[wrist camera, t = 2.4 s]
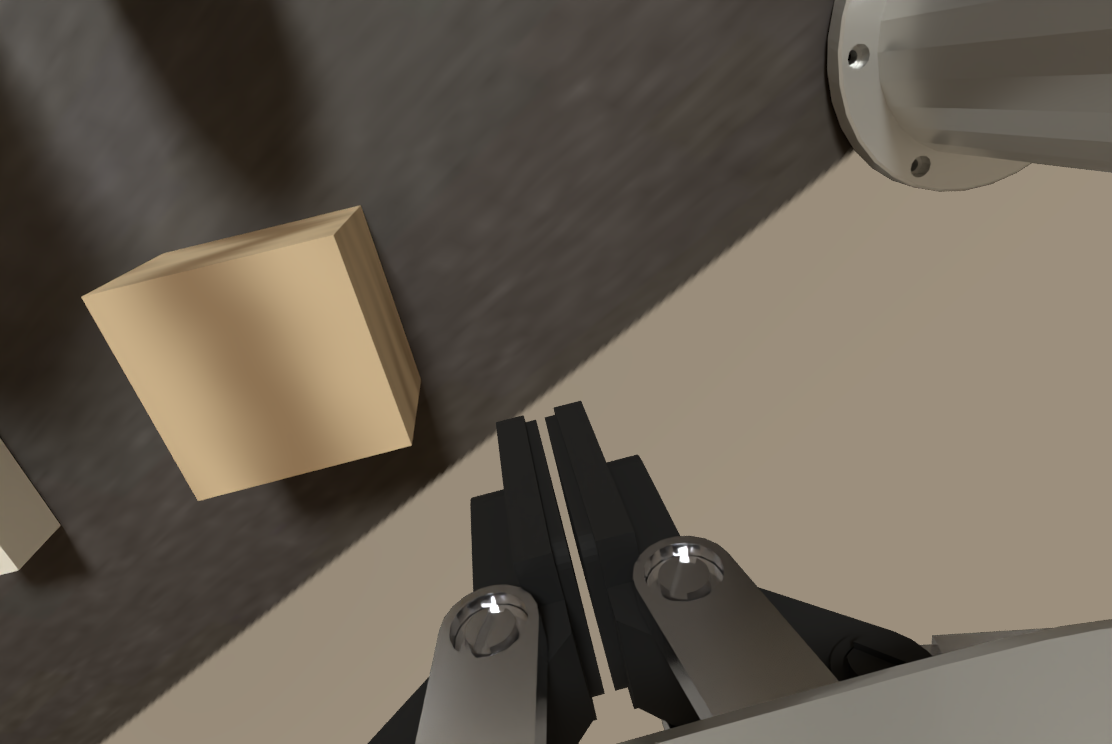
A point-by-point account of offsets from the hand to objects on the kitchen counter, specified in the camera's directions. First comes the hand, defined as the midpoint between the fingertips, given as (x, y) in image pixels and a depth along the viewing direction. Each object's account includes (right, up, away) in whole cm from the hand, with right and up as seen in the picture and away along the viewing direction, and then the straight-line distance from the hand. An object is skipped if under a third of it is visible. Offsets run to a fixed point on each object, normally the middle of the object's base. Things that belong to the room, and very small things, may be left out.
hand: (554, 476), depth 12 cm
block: (-11, +4, +15) cm, 19 cm away
